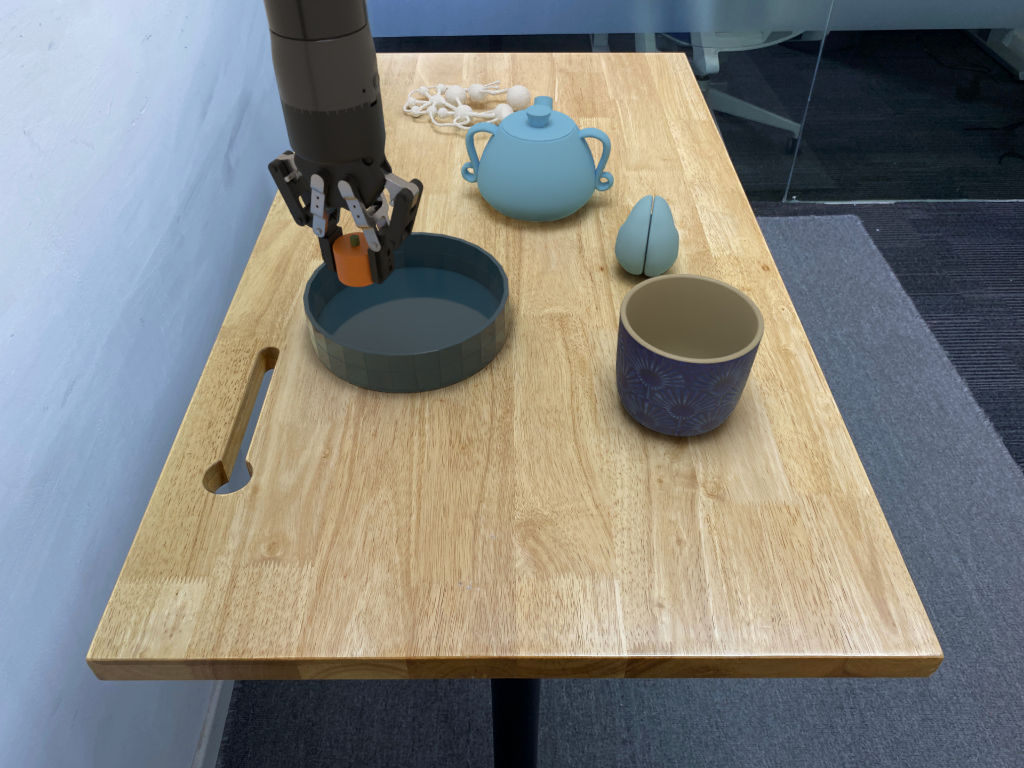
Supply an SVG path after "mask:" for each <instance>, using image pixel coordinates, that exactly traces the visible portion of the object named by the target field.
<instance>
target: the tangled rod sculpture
mask: <svg viewBox="0 0 1024 768" xmlns="http://www.w3.org/2000/svg"><path fill="white" fill-rule="evenodd" d="M500 84H501V80H499V79H497V80H496V81H493V82H490V83H487V84H481V83H473V84H471V85H469V87H463V86H462V85H459V84H453V85H450V84H444V83H438V84H434V85H430V86H425V85H421V86H420V87H419V88H416V89H413V90H411V91H410V92H409V93H408V95H407V99H406V100H405V103H404V105H403V107H402V110H403V112H404V113H409V114H411V116H412V117H414V118H419V117H420V116H421V115H427V116H428V117H429V119H430V120H431V123H432V124H433V125H434V126H435V127H439V128H445V127H447V128H448V127H449V128H450V127H457V128H459V129H460V130H464V131H468V130H469V129H470V128H471V127H472V126H469V125H470V124H471V123H472V122H473V120H474V118H476V119H489V120H487V121H486V122H489V123H492V124H495V125H497V126H498V125H499V124H500V123H501V122H502V120H503V119H504V118H505V117H507V116H508V115H510V114H511V113H514V112H516V111H520V110H525V109H526V108H527V107H529V106H530V104H531V99H532V96H531V93H530V90H529V89H528V88H527V87H526V86H524V85H521V84H515V85H513V86H511V87H506V88H501V89H500V86H499V85H500ZM432 89H435V92H436V94H432V95H431V94H430V90H432ZM491 89H493V90H491ZM494 89H495V90H494ZM415 93H418V95H419V96H420V97H421V98H427V99H428V100H421V99H416V98H415V97H413V96H412V95H413V94H415ZM467 94H468V97H469V99H470V100H471V101H473V102H475V103H480V102H482V101H485V99H486V98H487V97H488V95H489V96H500V95H505V94H506V95H505V99H506V102H507V103H504V102H503V103H499V104H497V105H496V106H495V107H494V109H489V110H487V111H482V112H476V111H473V109H472V108H471V106H469V105H467V104H465V103H466V101H467V98H468V97H467ZM443 95H444V96H443ZM418 105H420V106H418ZM407 107H408V109H407ZM447 108H448V109H450V110H452V111H449V110H448V109H447ZM424 109H426V110H424ZM449 116H450V117H453V118H454V119H453V120H452V122H450V123H449V122H447V123H446V122H445V123H439V122H437V121H436V120H435V119H434V118H436V117H438V119H440V120H446V119H447V118H448V117H449Z"/></svg>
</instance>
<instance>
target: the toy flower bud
mask: <svg viewBox="0 0 1024 768" xmlns="http://www.w3.org/2000/svg"><path fill="white" fill-rule="evenodd" d="M679 249H680V233H679V231H678V229H677V227H676V224H675V220H674V217H673V213H672V210H671V206H670V205H669V203H668V202H667V200H666V199H665V198H664V197H662V196H660V195H655V196H653V195H652V194H647V195H645V196H643V197H641V198H640V199H639V200H638V201H637V202H636V203H635V204H634V205H633V207H632V209H631V210H630V212H629V214H628V215H627V217H626V219H625V221H624V222H623V223H622V224H621V225H620V226H619V229H618V232H617V235H616V239H615V245H614V254H615V258H616V260H617V262H618V264H619V265H620V266H621V267H622V268H623V269H624V270H625V271H626V272H627V273H628V274H631V275H635V276H636V275H637V276H639V275H642V273H644V275H645V276H647V277H649V278H653V277H657V276H661V275H663V274H664V273H665V272H667V271H668V270H669V269H671V268H672V267H673V266H674V264H675V263H676V261H677V259H678V256H679Z"/></svg>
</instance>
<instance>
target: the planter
mask: <svg viewBox="0 0 1024 768" xmlns="http://www.w3.org/2000/svg"><path fill="white" fill-rule="evenodd" d="M764 332H765V320H764V316H763V314H762V312H761V310H760V308H759V307H758V305H757V304H756V303H755V301H754V300H752V299H751V298H750V297H749V296H748V295H747V294H745V293H744V292H743V291H741V290H740V289H738V288H737V287H735V286H733V285H731V284H729V283H728V282H724V281H722V280H720V279H717V278H712V277H709V276H705V275H699V274H694V273H693V274H692V273H670V274H661V275H659V276H655V277H649V278H646V279H645V280H643V281H641V282H639V283H637V284H636V285H634V286H633V287H632V288H631V289H629V290H628V291H627V292H626V294H625V295H624V296H623V298H622V300H621V302H620V307H619V317H618V329H617V341H616V342H617V343H616V356H615V383H616V390H617V395H618V397H619V400H620V402H621V404H622V407H623V408H624V410H625V411H626V413H628V414H629V415H630V416H631V418H632V419H633V420H635V421H636V422H637V423H639V425H642V426H643V427H645V428H646V429H649V430H651V431H654V432H656V433H659V434H662V435H667V436H673V437H694V436H698V435H703V434H705V433H706V434H707V433H709V432H711V431H713V430H715V429H717V428H718V427H720V426H721V425H722V424H724V423H725V422H726V421H727V419H729V417H730V416H731V415H732V413H733V412H734V411H735V409H736V407H737V405H738V403H739V401H740V399H741V397H742V394H743V392H744V390H745V387H746V385H747V383H748V380H749V377H750V375H751V374H750V373H751V370H752V368H753V365H754V363H755V359H756V357H757V353H758V350H759V347H760V345H761V342H762V339H763V336H764Z"/></svg>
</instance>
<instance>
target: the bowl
mask: <svg viewBox="0 0 1024 768" xmlns="http://www.w3.org/2000/svg"><path fill="white" fill-rule="evenodd" d="M393 256H394V264H395V268H394V271H393V272H392V273H391V275H390V276H389V277H388V278H387V279H386V280H385V281H384V282H383V283H382V284H377V283H373V284H371V285H368V286H364V287H351V286H347V285H345V284H343V283H342V282H341V281H340V280H339V278H338V273H337V272H333V271H329V270H328V268H327V264H325V263H324V261H323V262H321V263H320V264H319V265H318V266H317V267H316V269H314V270H313V272H312V274H311V275H310V277H309V279H308V280H307V282H306V283H305V287H304V291H303V294H302V295H303V296H302V303H303V311H304V313H305V319H306V324H307V327H308V331H309V336H310V341H311V345H312V347H313V349H314V352H315V354H316V356H317V358H318V360H319V361H320V362H321V363H322V365H323V366H324V367H325V368H326V369H327V370H328V371H330V372H331V373H332V374H333V375H334V376H336V377H337V378H340V379H341V380H342V381H345V382H347V383H349V384H351V385H354V386H356V387H360V388H362V389H365V390H370V391H375V392H380V393H391V394H412V393H422V392H428V391H434V390H439V389H442V388H446V387H448V386H451V385H454V384H457V383H459V382H462V381H464V380H466V379H468V378H470V377H472V376H474V375H475V374H477V373H479V372H480V371H482V370H483V369H484V368H485V367H486V366H487V365H489V364H490V363H491V362H492V361H493V360H494V359H495V358H496V357H497V355H498V354H499V353H500V352H501V349H502V348H503V347H504V344H505V342H506V340H507V338H508V337H507V336H508V332H509V326H510V289H509V278H508V275H507V273H506V271H505V269H504V267H503V265H502V263H500V261H498V260H497V259H496V258H495V256H494V255H493V254H491V253H490V252H489V251H487V250H485V248H482V247H481V246H480V245H478V244H475V243H473V242H470V241H468V240H466V239H464V238H460V237H457V236H453V235H448V234H444V233H437V232H436V233H435V232H428V231H427V232H426V231H412V233H411V235H410V236H409V237H408V238H406V239H405V240H404V241H403V242H402V243H401V245H400V246H399V247H398V249H396V250H393Z"/></svg>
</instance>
